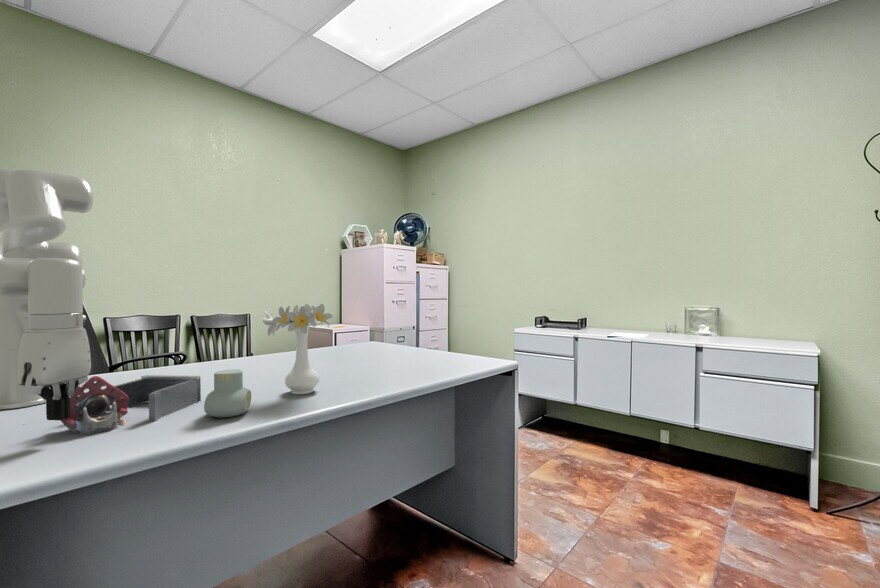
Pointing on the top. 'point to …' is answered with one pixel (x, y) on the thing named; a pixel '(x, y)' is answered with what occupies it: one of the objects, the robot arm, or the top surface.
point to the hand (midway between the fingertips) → (58, 418)
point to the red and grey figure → (96, 408)
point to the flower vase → (300, 343)
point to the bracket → (161, 393)
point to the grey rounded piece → (228, 395)
